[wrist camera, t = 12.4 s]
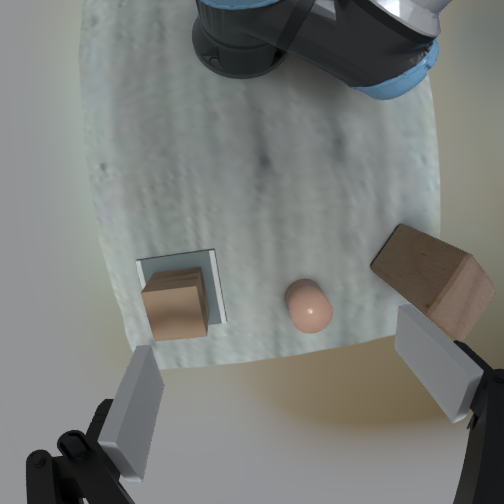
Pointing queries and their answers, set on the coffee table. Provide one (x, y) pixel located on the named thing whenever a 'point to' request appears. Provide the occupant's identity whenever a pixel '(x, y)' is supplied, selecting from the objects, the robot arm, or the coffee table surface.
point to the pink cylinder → (308, 306)
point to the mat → (186, 261)
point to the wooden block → (436, 279)
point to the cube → (177, 304)
